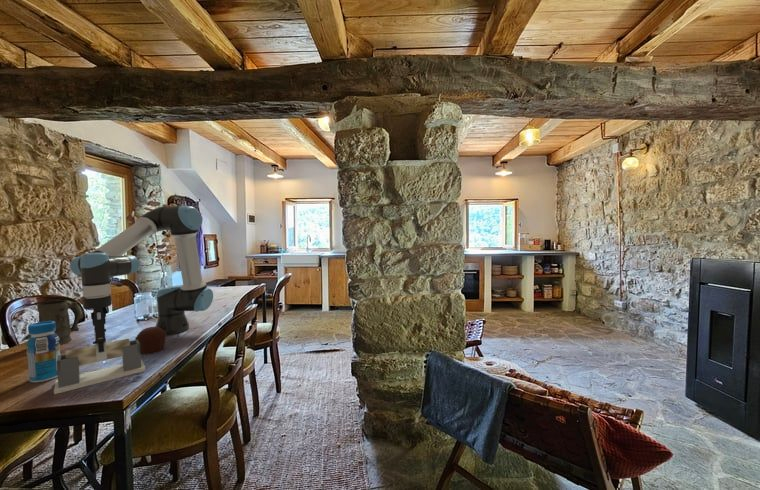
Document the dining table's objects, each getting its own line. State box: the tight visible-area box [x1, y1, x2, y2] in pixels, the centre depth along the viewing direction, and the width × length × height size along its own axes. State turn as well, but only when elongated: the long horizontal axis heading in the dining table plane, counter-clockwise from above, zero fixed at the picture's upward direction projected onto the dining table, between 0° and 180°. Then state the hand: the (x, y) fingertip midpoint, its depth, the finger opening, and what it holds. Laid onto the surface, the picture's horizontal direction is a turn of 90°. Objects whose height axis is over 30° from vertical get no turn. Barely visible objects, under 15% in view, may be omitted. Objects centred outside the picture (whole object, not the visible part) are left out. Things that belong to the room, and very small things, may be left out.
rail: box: [65, 338, 131, 367], centre depth 114 cm, size 17×4×5 cm, turn 133°
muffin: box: [134, 326, 167, 355], centre depth 139 cm, size 12×11×10 cm
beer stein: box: [36, 300, 82, 346], centre depth 152 cm, size 15×11×20 cm
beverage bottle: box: [25, 321, 61, 383], centre depth 115 cm, size 8×8×20 cm
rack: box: [53, 339, 146, 395], centre depth 115 cm, size 24×10×10 cm, turn 133°
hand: (101, 355), depth 115 cm, fingers open, 12 cm apart
